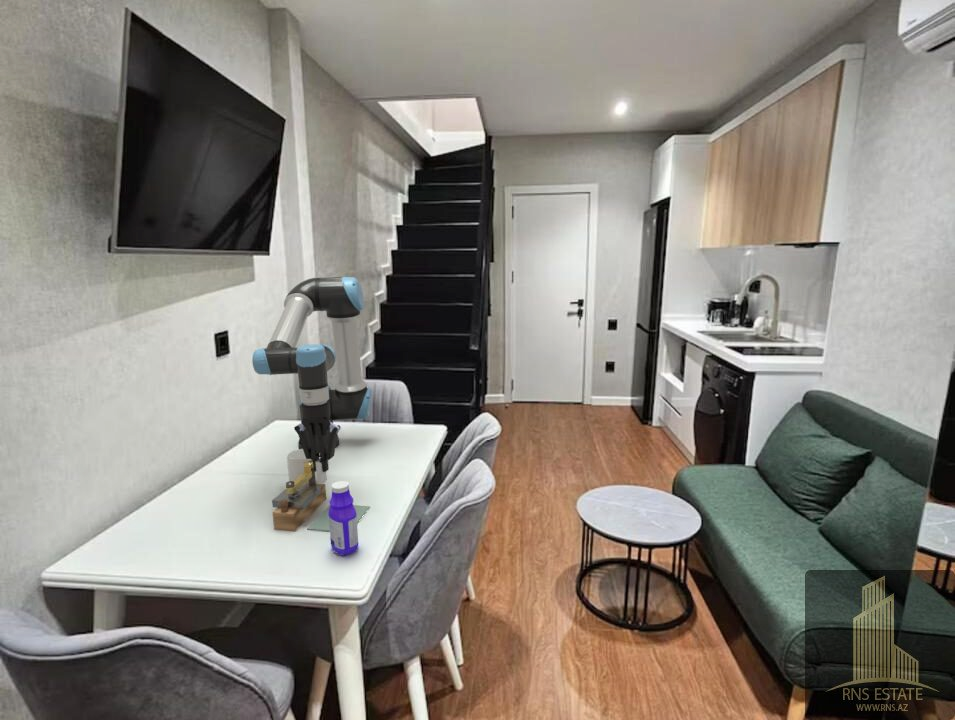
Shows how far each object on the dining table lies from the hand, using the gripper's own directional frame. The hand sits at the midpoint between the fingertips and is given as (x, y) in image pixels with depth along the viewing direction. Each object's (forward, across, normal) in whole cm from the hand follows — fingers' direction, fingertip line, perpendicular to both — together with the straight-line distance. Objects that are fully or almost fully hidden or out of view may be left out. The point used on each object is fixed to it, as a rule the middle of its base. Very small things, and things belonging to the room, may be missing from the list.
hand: (322, 481), depth 141 cm
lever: (0, -6, -1) cm, 6 cm away
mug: (+9, -13, +14) cm, 21 cm away
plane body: (+9, -6, -3) cm, 11 cm away
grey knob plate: (+4, -6, -4) cm, 8 cm away
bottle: (+9, +14, -18) cm, 24 cm away
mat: (+9, +6, -4) cm, 11 cm away
